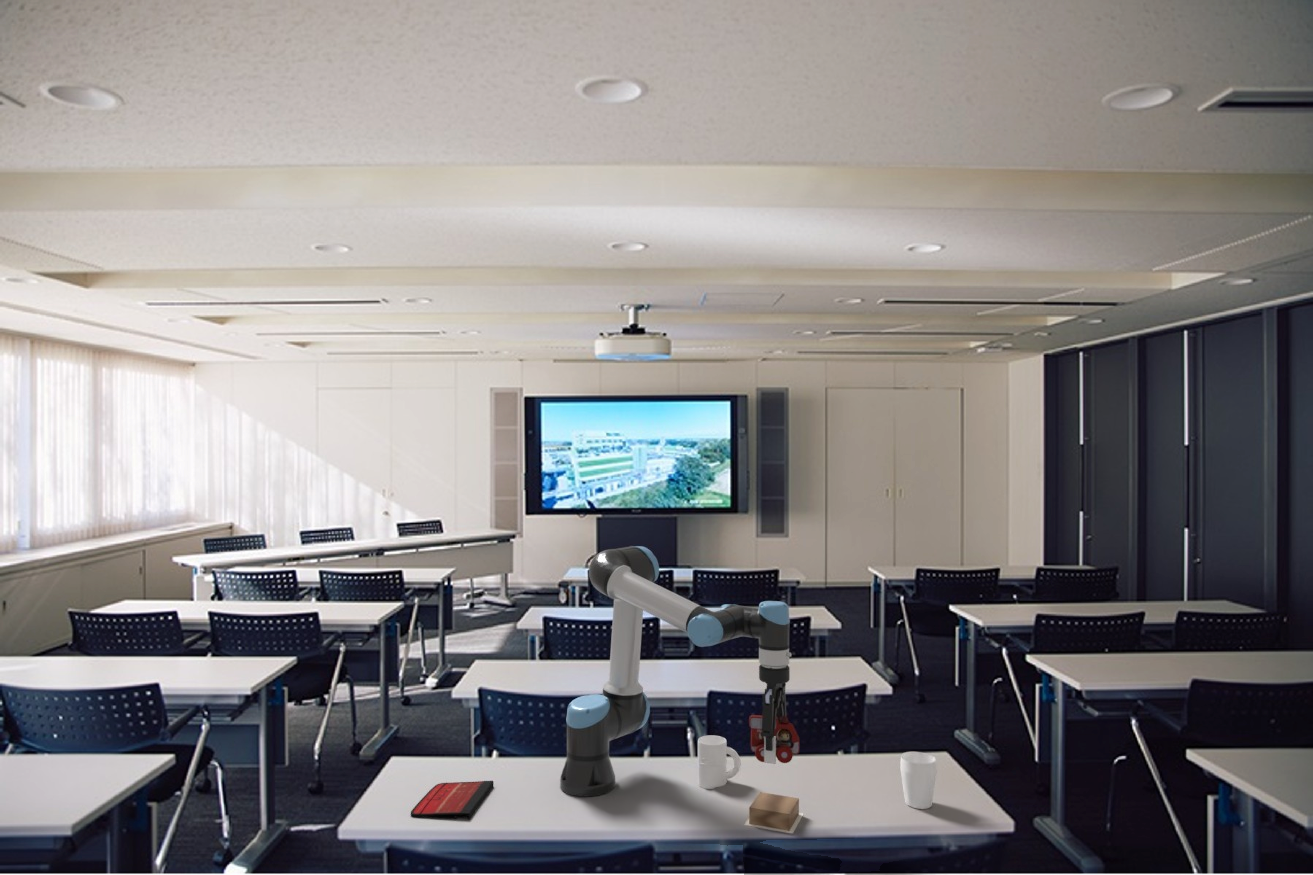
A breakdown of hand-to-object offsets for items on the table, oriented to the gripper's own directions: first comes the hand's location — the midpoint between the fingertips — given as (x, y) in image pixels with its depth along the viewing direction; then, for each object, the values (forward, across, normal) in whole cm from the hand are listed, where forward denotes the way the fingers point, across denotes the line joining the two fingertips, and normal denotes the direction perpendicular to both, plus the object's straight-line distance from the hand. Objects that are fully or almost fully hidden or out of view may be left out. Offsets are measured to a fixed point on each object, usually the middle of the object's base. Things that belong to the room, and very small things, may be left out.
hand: (774, 756), depth 206 cm
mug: (+16, +17, +20) cm, 31 cm away
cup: (+16, +25, -32) cm, 44 cm away
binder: (+17, -21, +81) cm, 85 cm away
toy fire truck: (+1, 0, 0) cm, 1 cm away
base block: (+15, 0, 0) cm, 15 cm away
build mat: (+16, 0, 0) cm, 16 cm away
